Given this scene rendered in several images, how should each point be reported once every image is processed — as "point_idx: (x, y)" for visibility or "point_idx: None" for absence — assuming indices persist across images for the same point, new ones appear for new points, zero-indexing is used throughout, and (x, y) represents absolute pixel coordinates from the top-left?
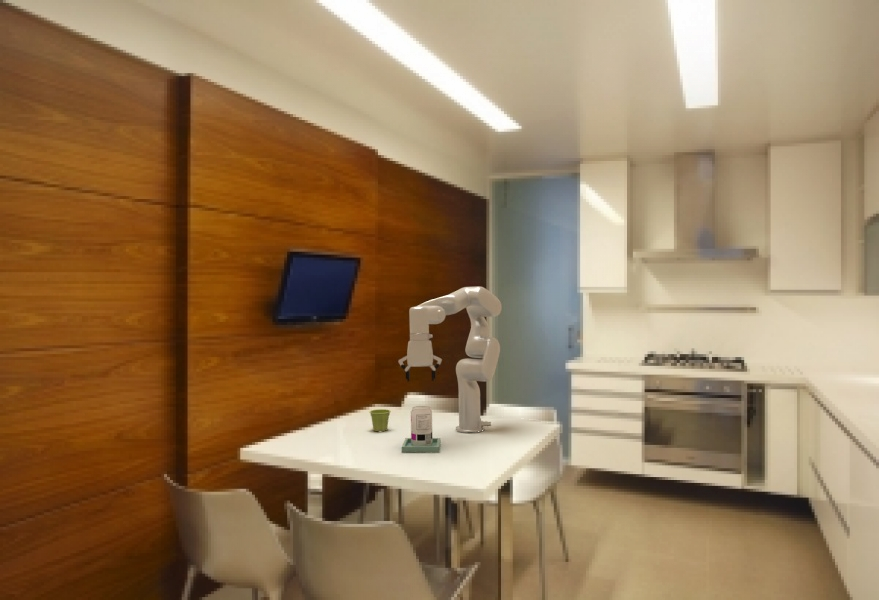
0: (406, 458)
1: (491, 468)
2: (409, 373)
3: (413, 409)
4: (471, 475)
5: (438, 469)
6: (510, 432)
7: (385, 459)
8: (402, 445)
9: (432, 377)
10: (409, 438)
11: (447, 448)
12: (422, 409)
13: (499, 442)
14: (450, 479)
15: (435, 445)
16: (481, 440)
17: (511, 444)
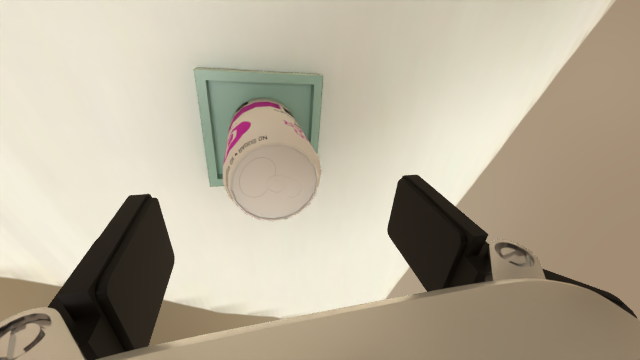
0: (236, 222)
1: (394, 258)
2: (129, 272)
3: (239, 205)
4: (358, 289)
5: (309, 274)
6: None
7: (184, 234)
8: (208, 172)
9: (406, 254)
10: (211, 76)
11: (335, 132)
12: (284, 218)
13: (476, 70)
14: (326, 308)
15: (304, 119)
16: (441, 39)
17: (492, 94)
